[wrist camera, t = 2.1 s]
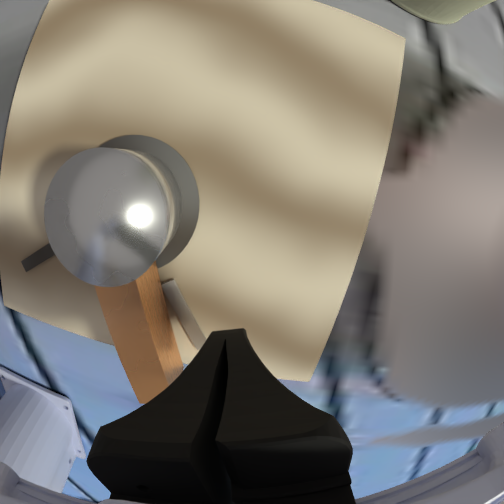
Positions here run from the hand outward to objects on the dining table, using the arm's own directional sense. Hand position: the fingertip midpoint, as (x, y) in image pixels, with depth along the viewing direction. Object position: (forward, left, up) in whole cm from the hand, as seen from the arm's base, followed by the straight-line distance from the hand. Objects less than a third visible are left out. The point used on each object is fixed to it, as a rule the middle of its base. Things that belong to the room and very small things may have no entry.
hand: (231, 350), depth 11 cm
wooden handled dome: (+1, +5, -3) cm, 6 cm away
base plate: (+6, +5, -5) cm, 9 cm away
